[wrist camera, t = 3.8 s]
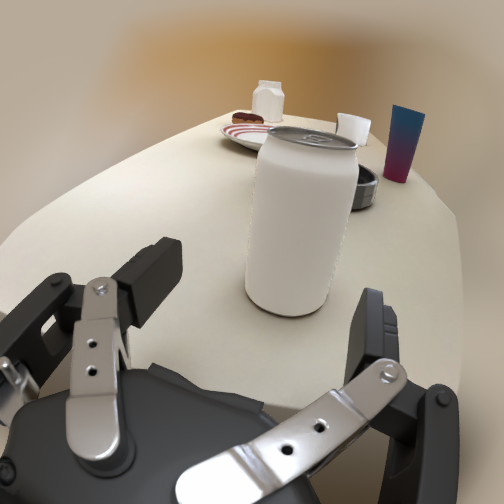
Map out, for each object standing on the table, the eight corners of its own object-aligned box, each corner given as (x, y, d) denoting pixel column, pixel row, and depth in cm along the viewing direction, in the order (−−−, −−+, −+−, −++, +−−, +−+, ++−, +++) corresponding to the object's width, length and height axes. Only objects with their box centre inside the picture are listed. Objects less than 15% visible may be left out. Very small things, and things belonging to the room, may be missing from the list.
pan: (334, 172, 54) (337, 152, 52) (393, 210, 41) (400, 186, 39) (251, 172, 48) (253, 149, 46) (299, 215, 36) (304, 185, 34)
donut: (264, 129, 85) (265, 117, 83) (230, 127, 84) (231, 114, 82) (262, 124, 94) (263, 113, 91) (232, 122, 93) (232, 110, 91)
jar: (247, 119, 103) (251, 79, 95) (254, 116, 111) (258, 80, 103) (278, 123, 101) (283, 82, 93) (283, 120, 109) (288, 83, 101)
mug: (368, 148, 82) (373, 122, 77) (334, 140, 83) (338, 114, 79) (363, 140, 93) (367, 118, 88) (333, 134, 94) (336, 111, 90)
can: (227, 294, 23) (238, 129, 16) (271, 258, 28) (289, 122, 21) (303, 333, 20) (347, 155, 14) (337, 286, 25) (374, 143, 18)
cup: (373, 174, 57) (387, 103, 49) (386, 171, 61) (399, 106, 53) (403, 186, 53) (420, 112, 45) (413, 182, 57) (428, 115, 49)
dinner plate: (310, 138, 81) (312, 127, 79) (362, 169, 59) (366, 154, 57) (212, 133, 74) (213, 121, 73) (230, 162, 52) (231, 144, 50)
